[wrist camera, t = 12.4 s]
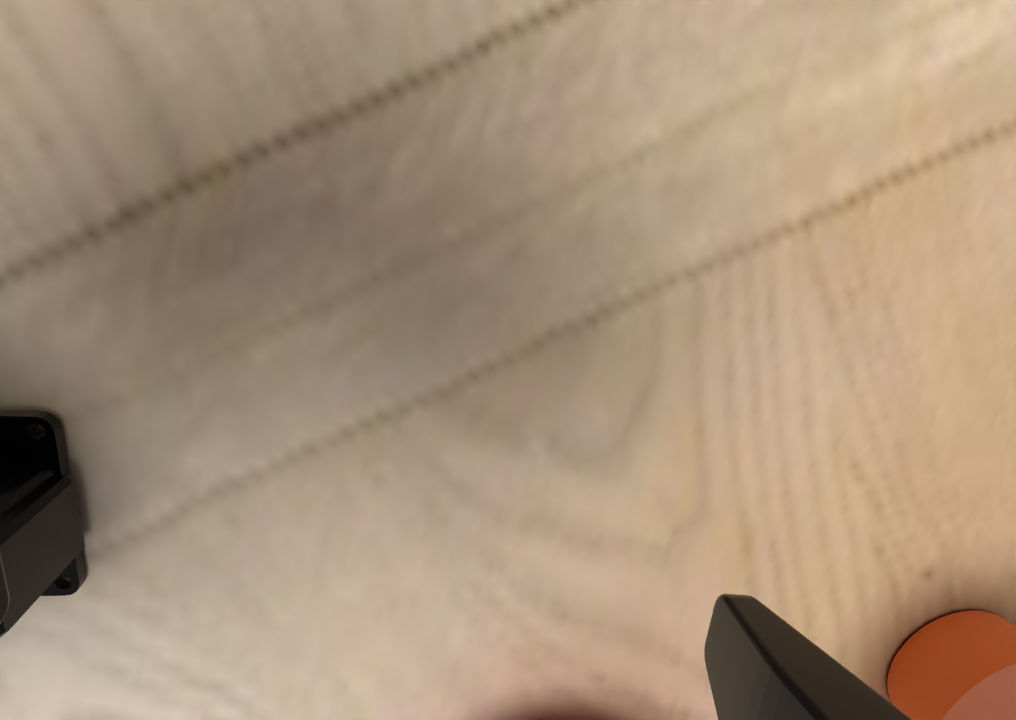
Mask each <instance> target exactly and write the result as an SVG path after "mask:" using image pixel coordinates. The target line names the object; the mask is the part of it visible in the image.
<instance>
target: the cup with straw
mask: <svg viewBox="0 0 1016 720" xmlns="http://www.w3.org/2000/svg"><path fill="white" fill-rule="evenodd" d="M887 689H888V694H889V697H890V700H891V702H892V704H893V705H894V706H895V707H896V708H898V709H899V710H900V711H902V712H903V713H904V714H905V715H907V716H908V717H909V718H911V719H912V720H1016V626H1015V625H1013V624H1012V623H1010V622H1009V621H1007V620H1005V619H1004V618H1002V617H1000V616H998V615H995V614H993V613H990V612H985V611H962V612H957V613H953V614H949V615H946V616H944V617H941V618H939V619H937V620H935V621H933V622H931V623H929V624H927V625H926V626H924V627H923V628H921V629H920V630H919V631H917V632H916V633H915V634H914V635H913V636H911V637H910V638H909V639H908V640H907V641H906V643H905V644H904V645H903V646H902V647H901V649H900V650H899V651H898V653H897V654H896V656H895V658H894V660H893V662H892V664H891V666H890V670H889V673H888V680H887Z"/></svg>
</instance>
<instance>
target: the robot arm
mask: <svg viewBox="0 0 1016 720" xmlns="http://www.w3.org/2000/svg"><path fill="white" fill-rule="evenodd" d="M36 424H37V425H41V426H42V427H43V428H44V429H45V431H46V434H44V433H41V432H39V431H38V430H37V428H36ZM84 546H85V543H84V536H83V530H82V524H81V518H80V511H79V505H78V499H77V492H76V486H75V482H74V481H73V479H72V478H71V477H70V473H69V466H68V460H67V454H66V448H65V441H64V435H63V429H62V425H61V423H60V421H59V420H58V419H57V418H56V416H54V415H52V414H50V413H47V412H37V411H0V638H1V637H2V636H3V635H4V634H5V633H6V632H7V631H9V629H10V628H11V627H12V626H13V625H14V624H15V623H16V622H17V621H18V620H19V618H20V617H21V616H22V615H23V614H24V613H25V612H26V611H27V610H28V609H29V608H30V606H31V605H32V604H33V603H34V602H35V601H36V600H37V599H38V598H39V597H40V596H61V595H71V594H73V593H75V592H76V591H77V590H78V589H79V588H80V587H81V585H82V584H83V583H84V581H85V580H86V572H85V566H84V560H83V553H82V549H83V548H84ZM62 576H63V577H67V578H68V579H70V581H66V580H65V579H63V577H62ZM705 663H706V668H707V672H708V677H709V681H710V685H711V690H712V694H713V698H714V703H715V707H716V711H717V716H718V720H912V719H911V718H909V717H908V716H907V715H905V714H904V713H903V712H902V711H900V710H899V709H898V708H896V707H895V706H894V705H893V704H891V703H890V702H889V701H887V700H886V699H885V698H883V697H882V696H881V695H880V694H878V693H877V692H876V691H874V690H873V689H872V688H871V687H869V686H868V685H867V684H865V683H864V682H863V681H862V680H860V679H859V678H858V677H856V676H855V675H854V674H852V673H851V672H850V671H849V670H847V669H846V668H845V667H843V666H842V665H841V664H840V663H838V662H837V661H836V660H834V659H833V658H832V657H831V656H829V655H828V654H827V653H825V652H824V651H823V650H821V649H820V648H819V647H818V646H816V645H815V644H814V643H812V642H811V641H810V640H809V639H807V638H806V637H805V636H803V635H802V634H801V633H800V632H798V631H797V630H796V629H794V628H793V627H792V626H790V625H789V624H788V623H787V622H785V621H784V620H783V619H781V618H780V617H779V616H778V615H776V614H775V613H774V612H772V611H771V610H770V609H769V608H767V607H766V606H765V605H763V604H762V603H761V602H759V601H758V600H757V599H755V598H754V597H752V596H748V595H735V594H722V595H720V596H719V597H718V598H717V600H716V602H715V606H714V610H713V614H712V618H711V622H710V626H709V630H708V634H707V638H706V642H705Z"/></svg>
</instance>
